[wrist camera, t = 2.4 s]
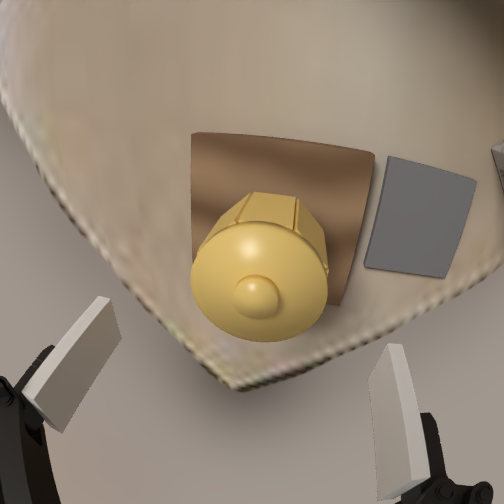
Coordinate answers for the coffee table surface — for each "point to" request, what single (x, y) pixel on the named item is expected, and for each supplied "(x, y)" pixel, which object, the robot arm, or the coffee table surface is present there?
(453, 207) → the mat
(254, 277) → the yellow lidded jar
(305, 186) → the post base
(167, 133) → the coffee table surface
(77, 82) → the coffee table surface
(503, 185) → the coffee box
